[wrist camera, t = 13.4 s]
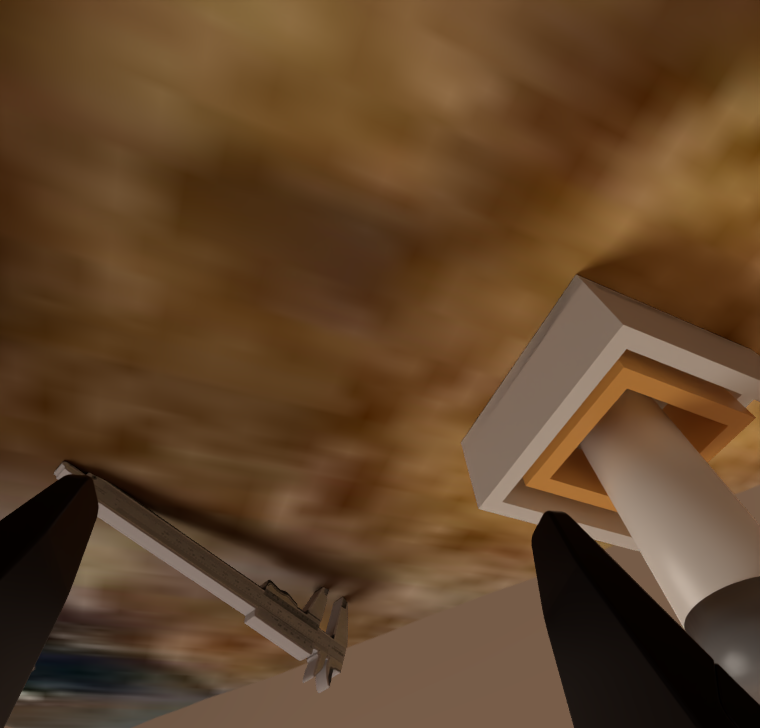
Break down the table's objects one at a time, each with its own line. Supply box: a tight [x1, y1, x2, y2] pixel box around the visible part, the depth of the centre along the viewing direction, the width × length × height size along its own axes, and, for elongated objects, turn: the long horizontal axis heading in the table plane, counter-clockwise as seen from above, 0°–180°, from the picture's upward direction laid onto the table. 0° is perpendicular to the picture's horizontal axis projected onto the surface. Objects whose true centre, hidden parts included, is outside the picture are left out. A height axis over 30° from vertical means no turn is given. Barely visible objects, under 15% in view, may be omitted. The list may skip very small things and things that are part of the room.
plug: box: [579, 389, 760, 704], centre depth 20 cm, size 4×4×12 cm
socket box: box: [461, 275, 760, 551], centre depth 24 cm, size 11×11×4 cm
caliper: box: [54, 462, 348, 693], centre depth 28 cm, size 20×1×6 cm, turn 46°
